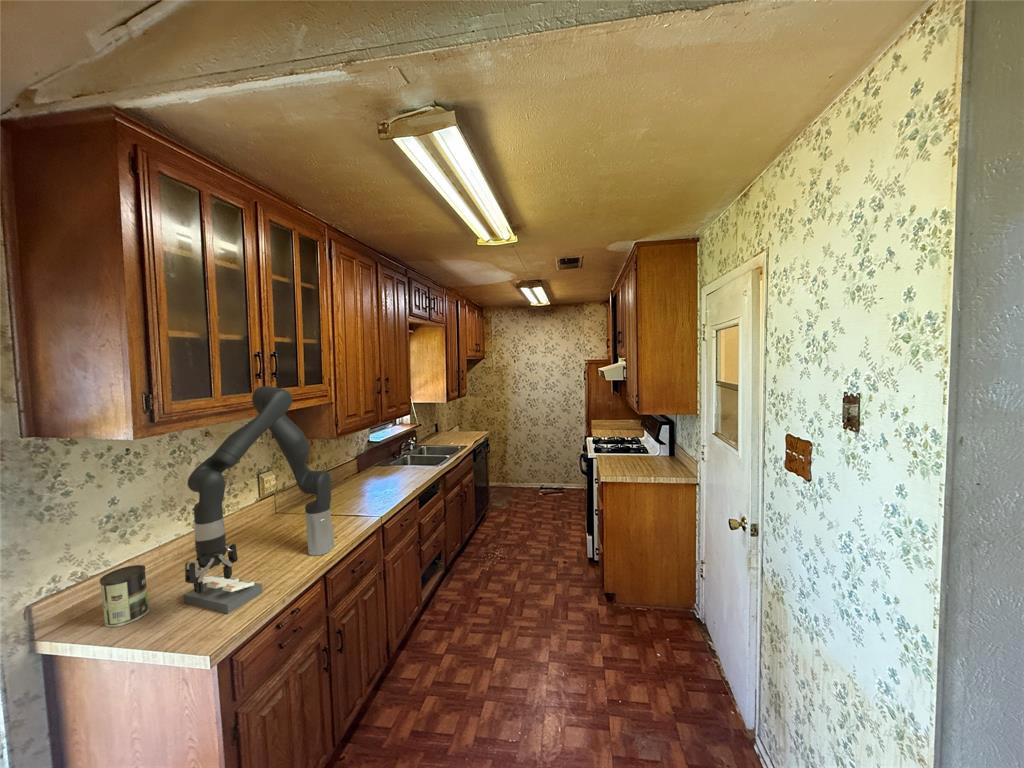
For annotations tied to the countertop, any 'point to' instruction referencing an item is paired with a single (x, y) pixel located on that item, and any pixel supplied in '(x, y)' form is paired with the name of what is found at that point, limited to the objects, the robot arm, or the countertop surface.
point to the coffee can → (124, 595)
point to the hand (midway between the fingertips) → (214, 585)
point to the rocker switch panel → (222, 597)
